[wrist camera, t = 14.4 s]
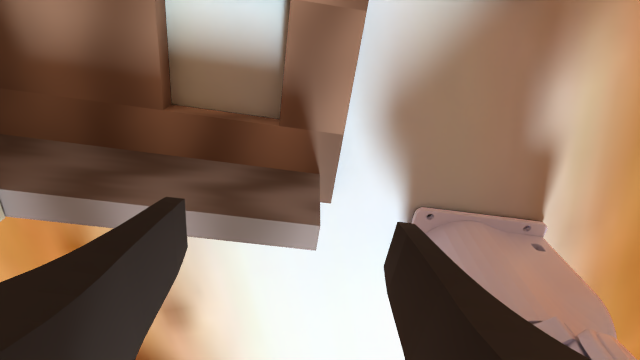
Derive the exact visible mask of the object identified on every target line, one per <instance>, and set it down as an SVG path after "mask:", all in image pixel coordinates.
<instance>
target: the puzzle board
mask: <svg viewBox="0 0 640 360" xmlns="http://www.w3.org/2000/svg"><path fill="white" fill-rule="evenodd" d="M368 1H369V0H291V1H290V12H289V23H288V34H287V45H286V56H285V67H284V78H283V89H282V100H281V111H280V119H274V118H267V117H259V116H252V115H245V114H237V113H230V112H223V111H216V110H208V109H201V108H194V107H186V106H179V105H172V104H171V90H170V74H169V59H168V43H167V28H166V12H165V0H0V204H1V207H2V210H3V213H4V215H5V216H7V217H16V218H25V219H34V220H43V221H52V222H61V223H70V224H79V225H88V226H98V227H107V228H116V227H117V226H119V225H121V224H122V223H124V222H126V221H127V220H129V219H130V218H132V217H134V216H135V215H137V214H138V213H140V212H142V211H143V210H145V209H146V208H148V207H150V206H151V205H153V204H154V203H156V202H158V201H159V200H161V199H163V198H164V197H174V198H183V199H185V210H186V227H187V236H188V237H198V238H207V239H216V240H225V241H234V242H243V243H252V244H261V245H270V246H279V247H289V248H298V249H307V250H316V247H317V241H318V236H319V230H320V202H323V203H331V199H332V194H333V188H334V183H335V178H336V172H337V167H338V162H339V156H340V151H341V146H342V140H343V135H344V129H345V124H346V119H347V113H348V108H349V103H350V97H351V92H352V87H353V81H354V76H355V71H356V65H357V60H358V55H359V49H360V44H361V39H362V33H363V28H364V23H365V17H366V12H367V7H368Z"/></svg>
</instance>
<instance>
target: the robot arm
mask: <svg viewBox="0 0 640 360" xmlns="http://www.w3.org/2000/svg"><path fill="white" fill-rule="evenodd" d="M428 214H432V215H431V216H430V217H426V216H427V215H428ZM525 226H527V227H526V228H524V227H525ZM546 231H547V226H546V225H545V224H544V223H543V222H540V221H532V220H524V219H516V218H508V217H499V216H491V215H483V214H475V213H467V212H458V211H450V210H442V209H434V208H426V207H421V208H418V209H417V210H416V211H415V213H414V216H413V219H412V222H411V223H403V222H397V225H396V229H395V232H394V235H393V238H392V241H391V245H390V248H389V251H388V254H387V257H386V261H385V264H384V272H385V281H386V287H387V294H388V298H389V301H390V305H391V309H392V313H393V316H394V320H395V323H396V327H397V331H398V334H399V338H400V341H401V345H402V349H403V352H404V356H405V360H637V359H636V358H635V357H634V356H633V355H632V354H631V353H630V352H629V351H628V350H627V349H626V348H625V347H624V346H623V345H622V344H621V343H620V342H619V341H618V340H617V336H616V331H615V328H614V324H613V321H612V319H611V316H610V314H609V312H608V310H607V308H606V307H605V305H604V303H603V302H602V300H601V299H600V298H599V297H598V296H597V294H596V293H595V292H594V291H593V290H592V289H591V288H590V287H589V286H588V285H587V284H586V283H585V282H584V281H583V280H582V279H581V277H580V276H579V275H578V274H577V273H576V272H575V271H574V270H573V269H572V268H571V267H570V266H569V265H568V264H567V263H566V262H565V261H564V259H563V258H562V257H561V256H560V255H559V254H558V253H557V252H556V251H555V250H554V249H553V248H552V247H551V246H550V245H549V244H548V242H547V241H546V240H545V239H544V238H543V236H544V235H545V233H546ZM187 248H188V245H187V227H186V210H185V199H183V198H174V197H164V198H163V199H161V200H159V201H158V202H156V203H154V204H153V205H151V206H150V207H148V208H146V209H145V210H143V211H142V212H140V213H138V214H137V215H135V216H134V217H132V218H130V219H129V220H127V221H126V222H124V223H122V224H121V225H119V226H117V227H116V228H114V229H112V230H111V231H109V232H107V233H105V234H103V235H102V236H100V237H98V238H96V239H94V240H93V241H91V242H89V243H87V244H85V245H84V246H82V247H80V248H78V249H76V250H74V251H72V252H70V253H68V254H66V255H64V256H62V257H60V258H57V259H55V260H53V261H51V262H49V263H47V264H44V265H42V266H40V267H38V268H35V269H33V270H30V271H28V272H25V273H23V274H20V275H18V276H15V277H13V278H10V279H8V280H5V281H3V282H0V360H135V359H136V356H137V354H138V351H139V349H140V347H141V345H142V343H143V340H144V338H145V336H146V334H147V332H148V330H149V329H150V327H151V325H152V323H153V321H154V319H155V317H156V315H157V313H158V311H159V310H160V308H161V306H162V304H163V302H164V300H165V298H166V296H167V294H168V292H169V290H170V288H171V287H172V285H173V283H174V281H175V279H176V277H177V275H178V272H179V270H180V267H181V264H182V262H183V259H184V256H185V253H186V250H187Z"/></svg>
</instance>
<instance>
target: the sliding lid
mask: <svg viewBox="0 0 640 360" xmlns="http://www.w3.org/2000/svg"><path fill="white" fill-rule="evenodd" d="M4 218H5V215H4V213H3V210H2V207H1V204H0V221H1V220H3V219H4Z"/></svg>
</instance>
